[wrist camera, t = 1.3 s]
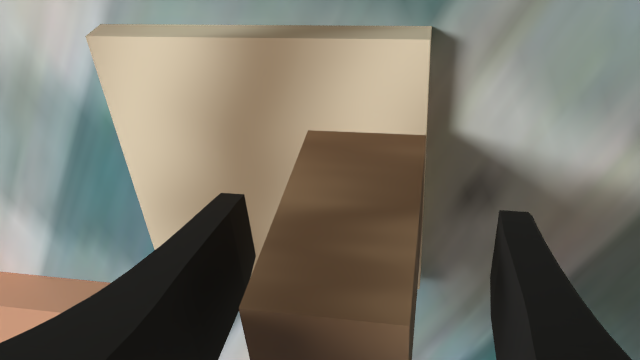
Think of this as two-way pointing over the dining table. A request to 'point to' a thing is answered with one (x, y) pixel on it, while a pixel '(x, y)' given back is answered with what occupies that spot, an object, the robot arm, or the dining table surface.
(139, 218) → the dining table surface
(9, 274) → the tile
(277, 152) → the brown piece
